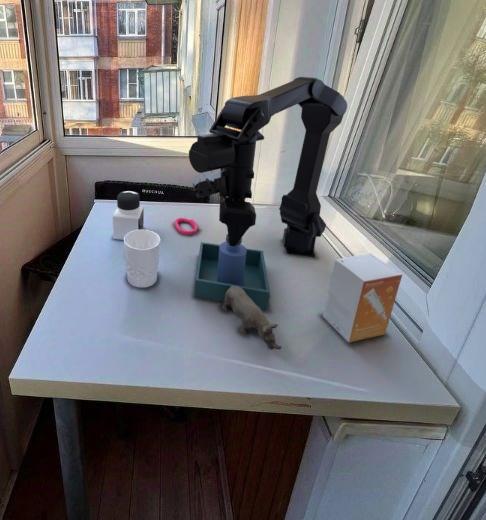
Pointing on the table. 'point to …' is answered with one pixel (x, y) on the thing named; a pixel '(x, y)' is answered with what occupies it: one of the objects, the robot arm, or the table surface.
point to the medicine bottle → (127, 214)
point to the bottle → (231, 263)
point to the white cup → (142, 257)
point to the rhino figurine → (250, 315)
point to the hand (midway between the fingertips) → (231, 233)
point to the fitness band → (188, 222)
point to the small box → (361, 296)
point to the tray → (214, 290)
